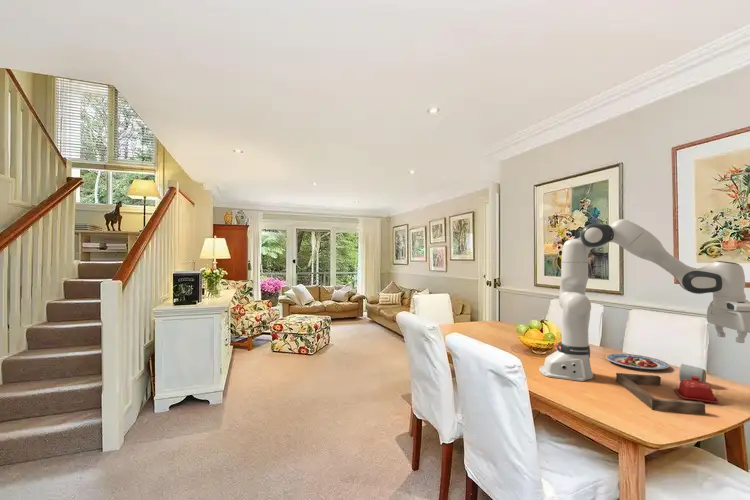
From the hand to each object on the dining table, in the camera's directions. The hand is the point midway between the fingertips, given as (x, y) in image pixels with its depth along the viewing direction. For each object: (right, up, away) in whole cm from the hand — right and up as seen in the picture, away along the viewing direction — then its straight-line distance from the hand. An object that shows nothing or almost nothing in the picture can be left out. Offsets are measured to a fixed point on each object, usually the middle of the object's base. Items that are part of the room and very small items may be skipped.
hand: (730, 339), depth 132 cm
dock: (-24, -24, +6) cm, 34 cm away
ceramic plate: (-2, -25, +45) cm, 52 cm away
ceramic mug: (+3, -24, +20) cm, 31 cm away
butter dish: (-10, -24, +3) cm, 26 cm away
